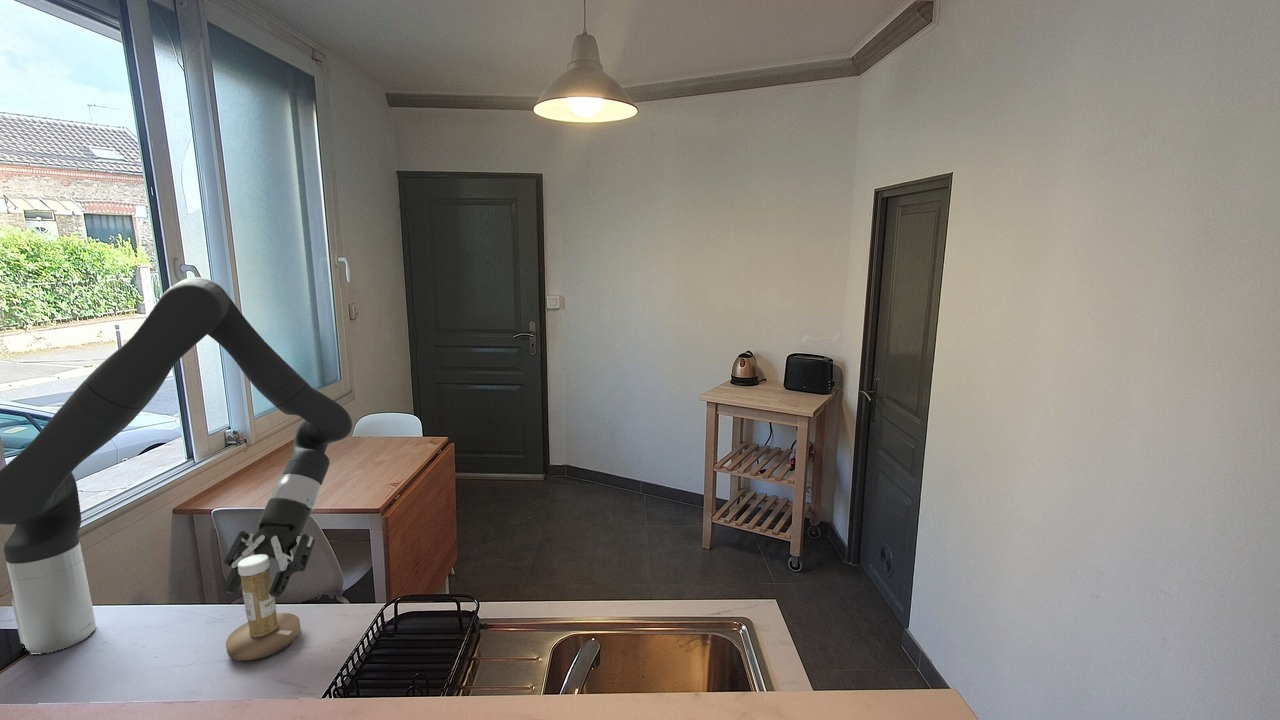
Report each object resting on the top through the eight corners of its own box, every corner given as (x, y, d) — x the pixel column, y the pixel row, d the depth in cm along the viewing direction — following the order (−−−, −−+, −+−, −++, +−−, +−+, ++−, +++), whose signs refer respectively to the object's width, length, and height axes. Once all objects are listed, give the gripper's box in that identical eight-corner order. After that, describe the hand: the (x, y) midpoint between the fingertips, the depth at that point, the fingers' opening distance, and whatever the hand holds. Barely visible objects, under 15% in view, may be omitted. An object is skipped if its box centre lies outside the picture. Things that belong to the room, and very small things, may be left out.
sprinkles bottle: (279, 631, 102) (268, 560, 100) (248, 641, 100) (237, 568, 98) (278, 619, 106) (268, 550, 104) (248, 628, 104) (237, 558, 102)
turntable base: (221, 660, 99) (220, 654, 99) (262, 627, 108) (261, 622, 108) (269, 663, 98) (268, 658, 98) (306, 630, 107) (305, 625, 107)
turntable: (210, 657, 98) (209, 649, 98) (260, 618, 109) (259, 610, 109) (269, 662, 97) (268, 653, 97) (314, 622, 108) (313, 614, 107)
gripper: (244, 494, 107) (199, 586, 98) (314, 497, 105) (275, 591, 96) (269, 509, 113) (229, 597, 104) (337, 512, 111) (302, 602, 102)
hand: (251, 594), depth 100 cm, fingers open, 8 cm apart
